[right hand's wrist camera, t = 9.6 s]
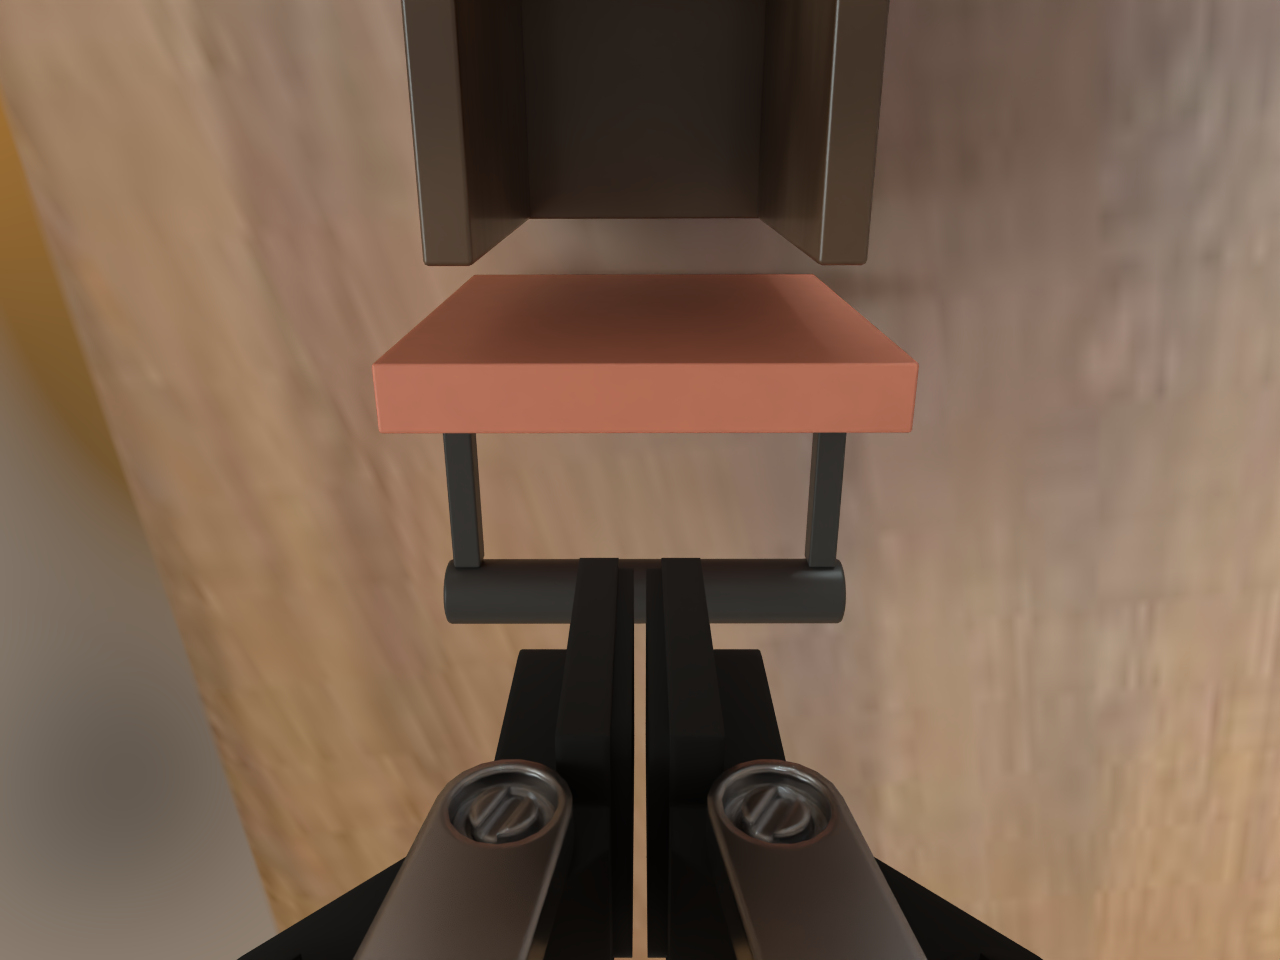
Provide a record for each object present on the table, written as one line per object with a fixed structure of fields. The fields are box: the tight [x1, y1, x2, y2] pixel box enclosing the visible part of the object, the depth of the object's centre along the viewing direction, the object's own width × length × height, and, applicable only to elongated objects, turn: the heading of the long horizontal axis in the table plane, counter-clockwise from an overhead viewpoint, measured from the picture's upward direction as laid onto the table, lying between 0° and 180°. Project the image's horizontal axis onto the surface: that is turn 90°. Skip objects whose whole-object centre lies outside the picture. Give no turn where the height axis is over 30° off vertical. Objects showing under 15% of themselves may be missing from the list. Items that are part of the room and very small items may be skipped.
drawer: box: [372, 0, 919, 624], centre depth 17 cm, size 25×9×10 cm, turn 0°
